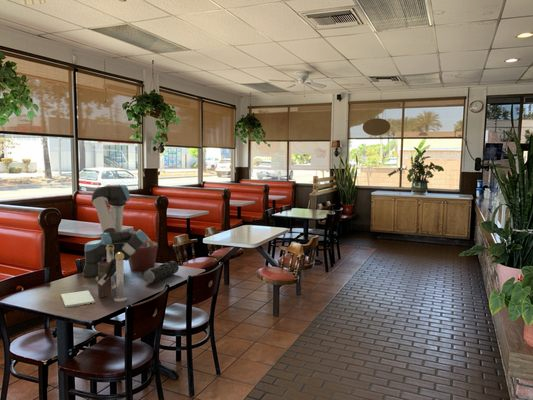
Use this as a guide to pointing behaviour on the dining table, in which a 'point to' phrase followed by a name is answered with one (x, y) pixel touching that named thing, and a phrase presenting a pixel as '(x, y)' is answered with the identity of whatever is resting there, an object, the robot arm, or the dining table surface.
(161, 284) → the dining table surface
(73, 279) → the dining table surface
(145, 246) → the bucket
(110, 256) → the stanchion posts
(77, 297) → the sage board
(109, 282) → the rusty metal cylinder
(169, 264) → the muzzle brake
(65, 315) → the dining table surface
